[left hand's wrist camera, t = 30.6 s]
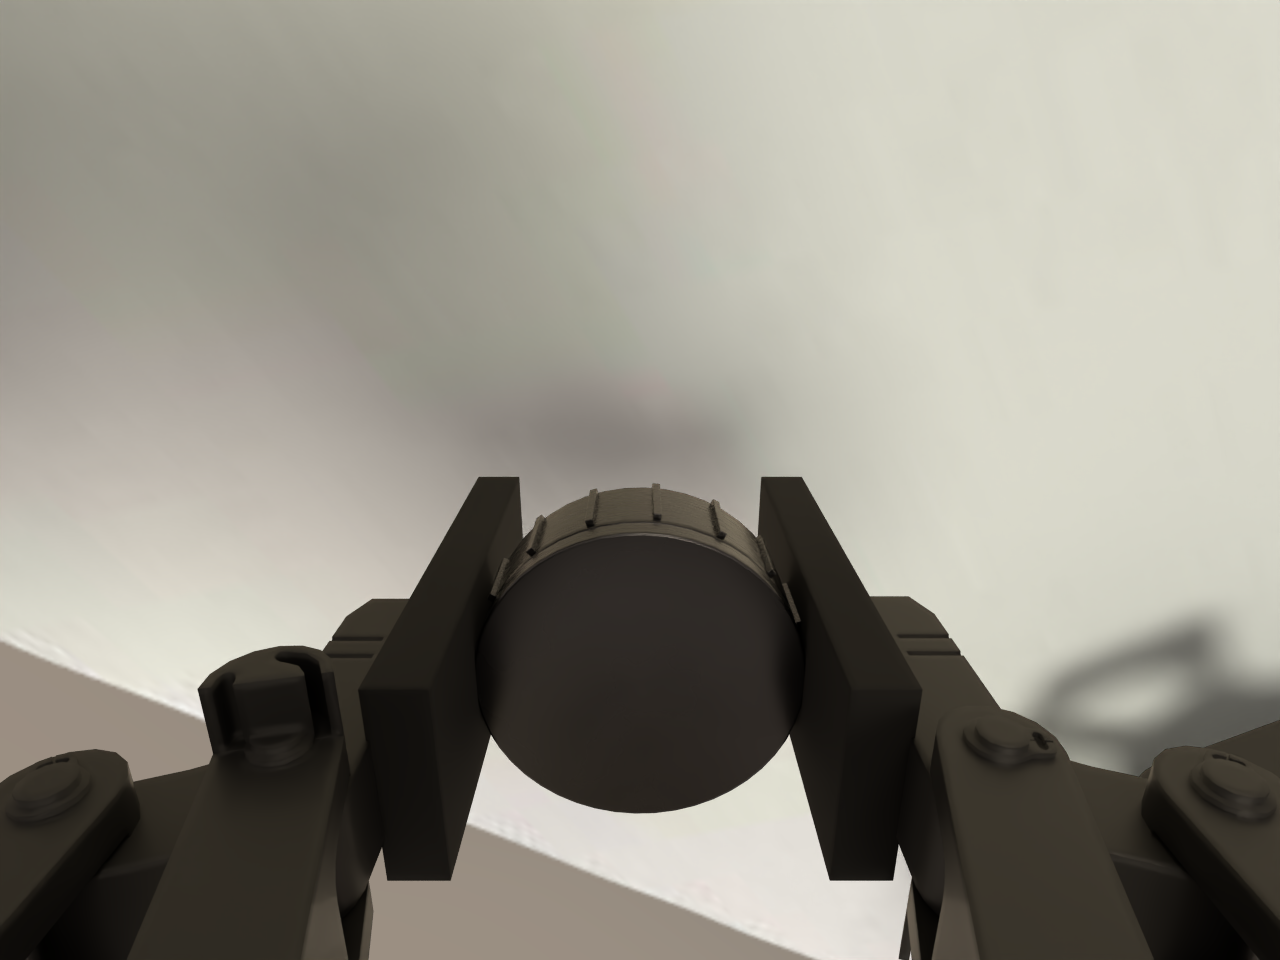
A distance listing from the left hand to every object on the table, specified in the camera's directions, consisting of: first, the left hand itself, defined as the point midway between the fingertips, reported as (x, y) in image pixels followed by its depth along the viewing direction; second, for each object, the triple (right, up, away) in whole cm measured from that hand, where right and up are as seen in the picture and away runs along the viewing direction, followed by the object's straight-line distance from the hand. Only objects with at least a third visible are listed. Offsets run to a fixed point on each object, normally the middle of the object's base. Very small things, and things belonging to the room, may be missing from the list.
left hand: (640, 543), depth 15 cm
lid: (0, -1, -4) cm, 4 cm away
